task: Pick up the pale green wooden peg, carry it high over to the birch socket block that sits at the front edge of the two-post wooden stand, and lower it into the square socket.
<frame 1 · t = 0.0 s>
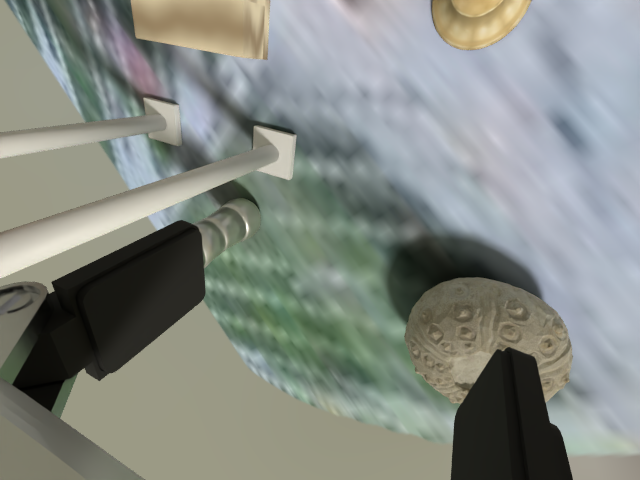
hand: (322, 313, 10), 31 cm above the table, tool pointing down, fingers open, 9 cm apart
plastic bottle: (250, 213, 50), on the table
two-post wooden stand: (92, 121, 30), on the table
grey rounded lump: (479, 320, 42), on the table
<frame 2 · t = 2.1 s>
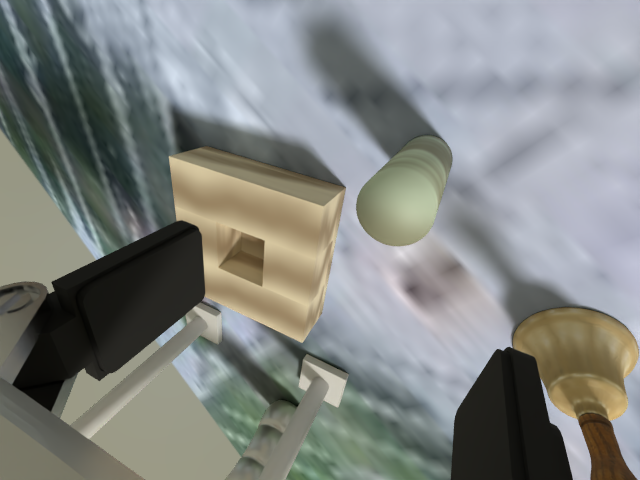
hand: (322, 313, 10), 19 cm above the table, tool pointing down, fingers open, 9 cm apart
plastic bottle: (291, 408, 49), on the table
two-post wooden stand: (153, 454, 29), on the table
socket block: (267, 234, 35), on the table
hand bell: (569, 345, 26), on the table
peg: (425, 161, 25), on the table
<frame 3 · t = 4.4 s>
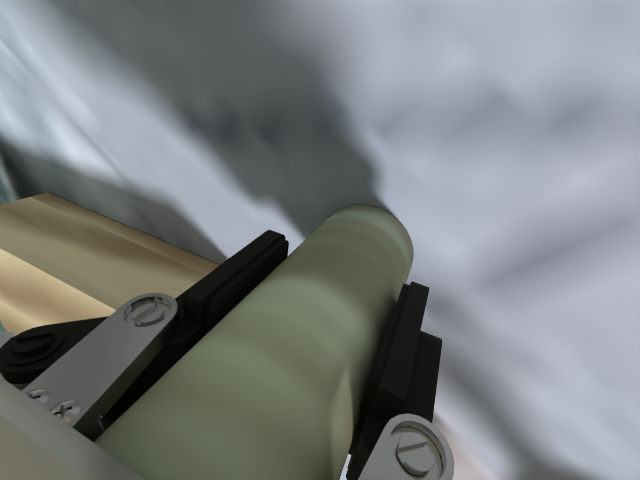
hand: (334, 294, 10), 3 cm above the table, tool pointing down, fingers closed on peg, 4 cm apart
socket block: (151, 322, 23), on the table
peg: (364, 249, 13), on the table, touching gripper
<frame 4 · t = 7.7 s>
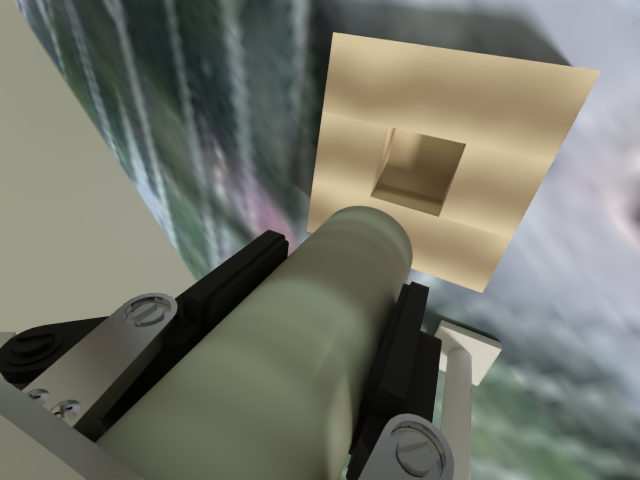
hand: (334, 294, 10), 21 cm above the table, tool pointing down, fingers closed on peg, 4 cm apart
two-post wooden stand: (316, 435, 21), on the table
socket block: (422, 158, 27), on the table
peg: (363, 251, 13), point 18 cm above the table, touching gripper
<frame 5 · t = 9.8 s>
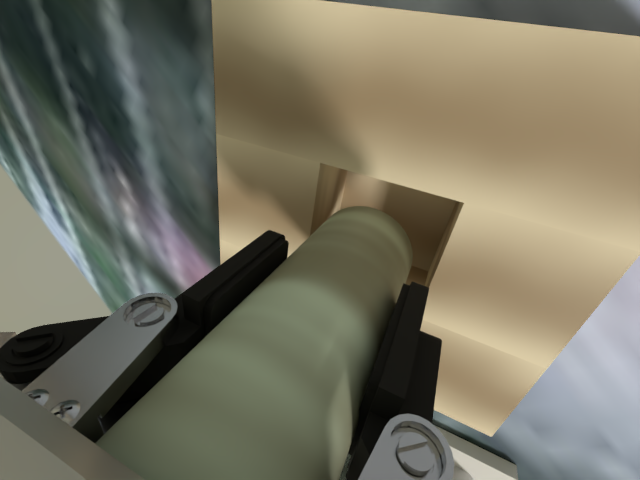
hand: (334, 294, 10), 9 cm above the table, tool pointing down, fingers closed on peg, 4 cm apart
socket block: (395, 204, 17), on the table
peg: (363, 251, 13), point 5 cm above the table, touching gripper
when the fingers open (6 cm above the table, at t = 11.2 s): peg drops 1 cm, resting on socket block.
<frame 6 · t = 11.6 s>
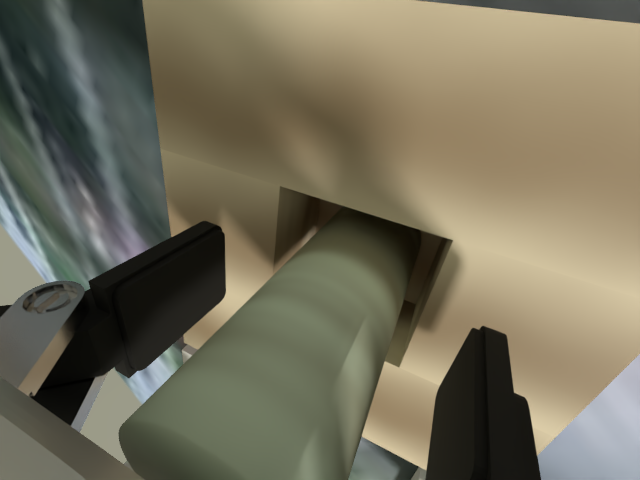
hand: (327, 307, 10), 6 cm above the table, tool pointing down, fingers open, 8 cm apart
socket block: (378, 226, 15), on the table
peg: (375, 236, 14), point 1 cm above the table, touching socket block
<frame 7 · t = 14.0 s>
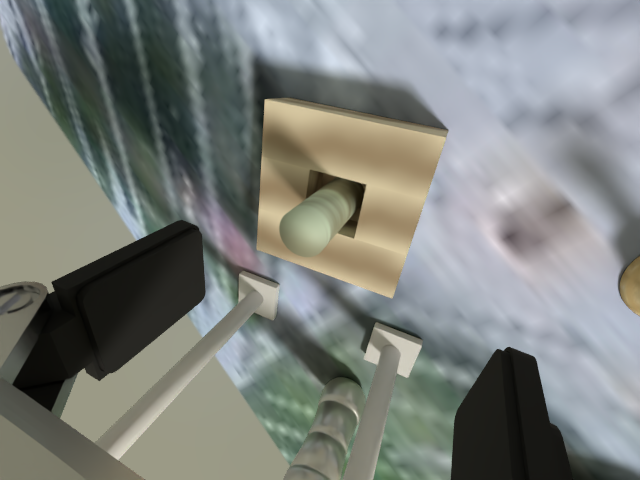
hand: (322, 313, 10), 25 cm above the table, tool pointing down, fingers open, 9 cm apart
plastic bottle: (348, 386, 47), on the table
two-post wooden stand: (252, 412, 27), on the table
socket block: (348, 190, 34), on the table
peg: (346, 193, 33), point 1 cm above the table, touching socket block
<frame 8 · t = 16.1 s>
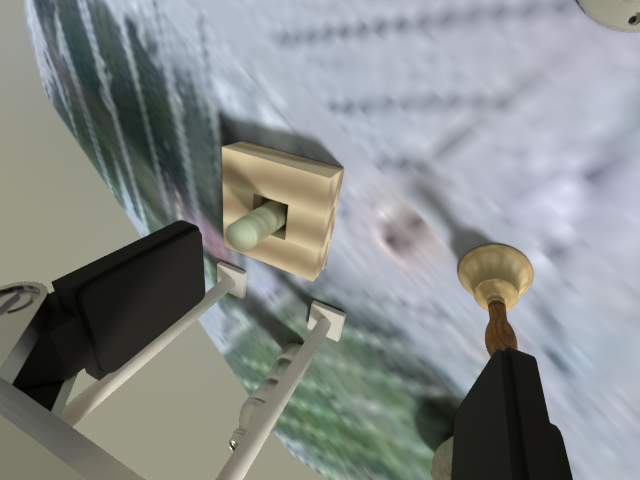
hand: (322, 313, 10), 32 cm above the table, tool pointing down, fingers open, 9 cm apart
plastic bottle: (300, 350, 62), on the table
two-post wooden stand: (211, 352, 41), on the table
grey rounded lump: (489, 456, 53), on the table
socket block: (286, 205, 48), on the table
hand bell: (493, 272, 40), on the table
peg: (284, 207, 47), point 1 cm above the table, touching socket block
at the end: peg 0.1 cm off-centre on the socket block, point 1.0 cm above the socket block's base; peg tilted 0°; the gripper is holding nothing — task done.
